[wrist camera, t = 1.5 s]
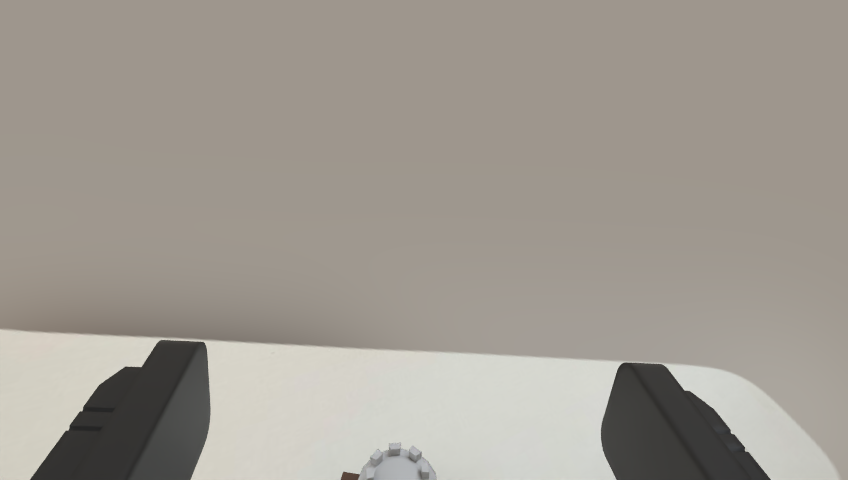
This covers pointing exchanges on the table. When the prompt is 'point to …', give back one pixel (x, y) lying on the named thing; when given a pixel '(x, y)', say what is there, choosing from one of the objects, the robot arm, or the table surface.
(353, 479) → the holder collar
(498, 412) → the table surface
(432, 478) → the rook chess piece
